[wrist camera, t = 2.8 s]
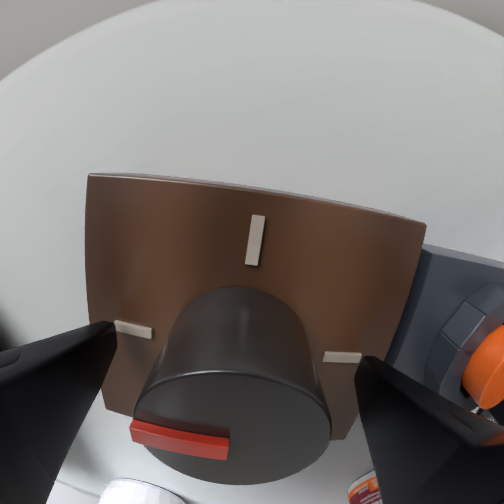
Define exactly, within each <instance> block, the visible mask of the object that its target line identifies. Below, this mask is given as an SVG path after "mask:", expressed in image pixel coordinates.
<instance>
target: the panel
mask: <svg viewBox="0 0 504 504" xmlns="http://www.w3.org/2000/svg"><path fill="white" fill-rule="evenodd" d="M426 227H427V226H426V224H425V223H422V222H419V221H416V220H412V219H409V218H406V217H403V216H399V215H396V214H393V213H389V212H385V211H381V210H376V209H372V208H367V207H363V206H358V205H353V204H349V203H344V202H339V201H334V200H329V199H323V198H318V197H313V196H307V195H302V194H296V193H290V192H284V191H278V190H272V189H265V188H259V187H252V186H245V185H238V184H231V183H223V182H215V181H207V180H198V179H189V178H179V177H169V176H158V175H147V174H133V173H90V174H88V180H87V192H86V209H85V272H86V289H87V302H88V312H89V321H90V324H93V323H96V322H100V321H103V320H105V321H109V322H113V323H114V324H115V326H116V333H117V350H116V353H115V355H114V358H113V360H112V362H111V365H110V367H109V370H108V372H107V375H106V377H105V380H104V382H103V384H102V386H101V391H102V395H103V399H104V403H105V407H106V409H107V410H110V411H114V412H117V413H120V414H123V415H127V416H130V417H133V410H134V406H135V403H136V400H137V398H138V396H139V394H140V392H141V390H142V388H143V386H144V384H145V382H146V379H147V377H148V375H149V373H150V371H151V369H152V367H153V365H154V363H155V361H156V359H157V357H158V355H159V353H160V351H161V349H162V347H163V345H164V343H165V341H166V339H167V337H168V335H169V333H170V331H171V329H172V327H173V325H174V323H175V321H176V319H177V317H178V316H179V314H180V313H181V311H182V310H183V309H184V308H185V307H186V306H187V305H188V304H189V303H190V302H191V301H192V300H194V299H195V298H197V297H199V296H200V295H202V294H205V293H207V292H209V291H212V290H216V289H220V288H226V287H247V288H252V289H257V290H260V291H263V292H267V293H269V294H271V295H273V296H275V297H277V298H278V299H280V300H281V301H283V302H284V303H285V304H287V305H288V306H289V307H290V308H291V309H292V310H293V311H294V312H295V314H296V315H297V317H298V318H299V320H300V321H301V324H302V326H303V328H304V331H305V334H306V338H307V341H308V344H309V347H310V350H311V353H312V356H313V360H314V363H315V366H316V369H317V372H318V376H319V379H320V382H321V385H322V388H323V392H324V395H325V398H326V402H327V405H328V408H329V412H330V415H331V419H332V423H333V431H332V435H331V439H330V440H343V439H345V437H346V435H347V433H348V432H349V430H350V428H351V426H352V425H353V423H354V421H355V419H356V418H357V416H358V414H359V407H358V401H357V395H356V389H355V384H354V376H355V373H356V370H357V368H358V365H359V363H360V360H361V358H362V357H363V356H375V357H377V358H379V359H380V360H382V361H384V360H385V358H386V355H387V353H388V350H389V348H390V345H391V343H392V340H393V338H394V335H395V333H396V330H397V327H398V325H399V322H400V319H401V316H402V313H403V311H404V308H405V305H406V302H407V299H408V295H409V292H410V289H411V286H412V282H413V279H414V276H415V272H416V268H417V265H418V261H419V257H420V253H421V249H422V245H423V241H424V236H425V232H426Z"/></svg>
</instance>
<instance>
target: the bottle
mask: <svg viewBox="0 0 504 504" xmlns="http://www.w3.org/2000/svg"><path fill="white" fill-rule="evenodd" d="M99 504H185V502H184V501H183V500H182V499H181V498H179V497H178V496H176V495H175V494H173V493H171V492H169V491H167V490H165V489H162V488H160V487H157V486H155V485H152V484H149V483H145V482H142V481H138V480H133V479H124V478H120V479H115V480H113V481H111V482H110V483H108V485H107V486H106V487H105V489H104V490H103V493H102V495H101V498H100V501H99Z"/></svg>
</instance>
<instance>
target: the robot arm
mask: <svg viewBox="0 0 504 504" xmlns="http://www.w3.org/2000/svg"><path fill="white" fill-rule="evenodd" d="M116 350H117V333H116V326H115V324H114V323H113V322H109V321H105V320H103V321H100V322H96V323H93V324H90V325H87V326H84V327H81V328H78V329H75V330H71V331H68V332H65V333H62V334H59V335H55V336H52V337H49V338H46V339H43V340H39V341H36V342H33V343H30V344H26V345H23V346H22V347H21V346H19V347H16V348H13V349H9V350H6V351H2V352H0V504H46V502H47V499H48V497H49V494H50V492H51V490H52V487H53V485H54V481H55V480H56V478H57V475H58V473H59V471H60V469H61V466H62V464H63V462H64V460H65V458H66V456H67V453H68V451H69V449H70V447H71V445H72V443H73V441H74V439H75V437H76V435H77V433H78V431H79V429H80V427H81V425H82V423H83V421H84V419H85V417H86V415H87V413H88V411H89V409H90V407H91V405H92V403H93V402H94V400H95V398H96V396H97V394H98V392H99V390H100V388H101V386H102V384H103V382H104V380H105V377H106V375H107V372H108V370H109V367H110V365H111V362H112V360H113V358H114V355H115V353H116ZM354 384H355V389H356V395H357V401H358V407H359V413H360V417H361V421H362V425H363V429H364V432H365V436H366V439H367V443H368V447H369V451H370V454H371V458H372V462H373V466H374V470H375V474H376V478H377V482H378V487H379V491H380V495H381V500H382V504H504V399H503V400H502V401H501V402H500V403H498V404H497V405H495V406H494V407H492V408H489V409H482V408H481V409H480V410H479V412H478V413H477V414H475V413H472V412H470V411H468V410H466V409H465V408H463V407H461V406H459V405H457V404H455V403H454V402H452V401H450V400H447V399H446V398H445V397H443V396H441V395H440V394H438V393H436V392H434V391H433V390H431V389H429V388H427V387H426V386H424V385H422V384H421V383H419V382H417V381H416V380H414V379H412V378H410V377H409V376H407V375H405V374H404V373H402V372H400V371H399V370H397V369H395V368H394V367H392V366H390V365H389V364H387V363H385V362H384V361H382V360H380V359H379V358H377V357H375V356H363V357H362V358H361V360H360V363H359V365H358V368H357V370H356V373H355V376H354ZM491 416H492V417H493V419H494V420H495V421H496V422H497V424H496V423H494V422H492V421H490V420H487V419H486V418H488V417H491Z"/></svg>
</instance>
